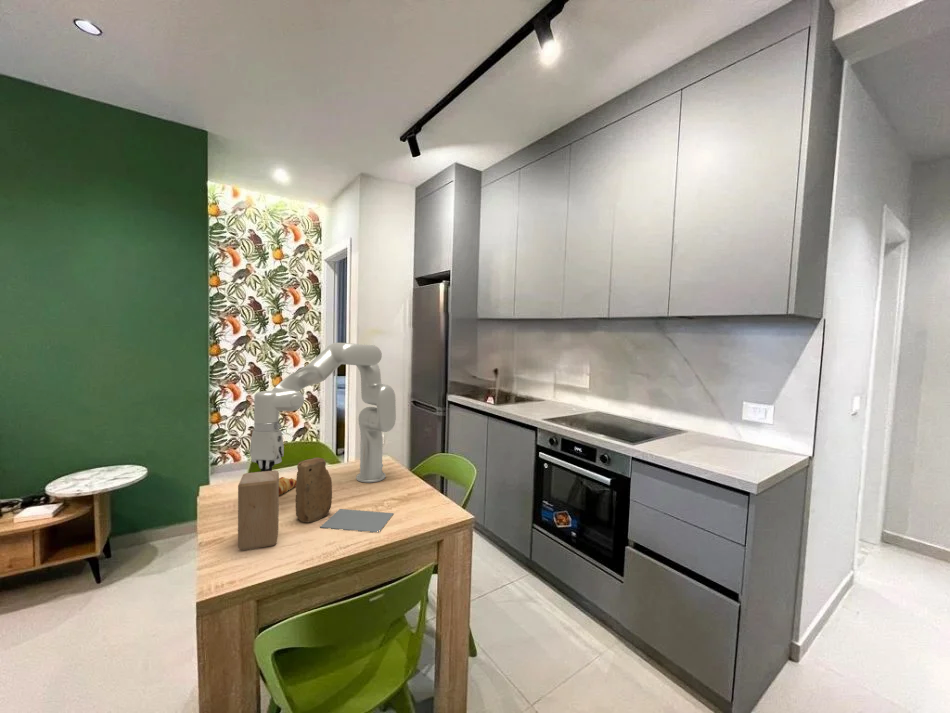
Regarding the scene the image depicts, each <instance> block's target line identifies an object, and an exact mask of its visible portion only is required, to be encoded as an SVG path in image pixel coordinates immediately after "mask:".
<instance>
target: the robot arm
mask: <svg viewBox="0 0 950 713" xmlns="http://www.w3.org/2000/svg"><path fill="white" fill-rule="evenodd" d="M382 357H383V356H382V351H381V349H380V347H378V346H377V345H374V344H359V343H350V342H332V343H330V344H329V345H328V346H327V347H326V348H325V349H323V351H321V352H320V353H319V354H318V355H317V356H316V357H315V358H314V359H312V361H310V362H309V363H308V364H307V365H305V366H304V367H301V368H300V369H298V370H296V371H295V372H292V373H290V374H289V375H288V376H286V377H284V378H283V379H282V380H281V381H280V382H279V383H278V384H276V386H275V387H274V388H273V389H272V390H263V391H258V392H256V393H255V394H254V399H253V400H254V402H253V403H254V406H253V407H254V410H253V411H254V412H253V413H254V417H253V418H254V419H253V420H254V422H253V423H254V424H253V431H252V434H251V439H250V444H249V445H250V446H249V454H250V461H251V462H252V463H256V465H257V466H258V468H259V469H260V472H263V471H273V467H274V466H275V465H277V464H280V463H282V461H283V460H282V458H283V457H284V453H285V451H284V450H285V446H284V438H283V434H282V430H281V429H282V424H281V423H280V419H279V418H280V417H279V416H280V412H282V411H283V412H286V411H287V412H291V411H292V412H294V411H296V410H299V409H300V408H302V407H303V406H304V402H305V396H304V395H303V393H301V392H300V391H302V390H303V389H304V388H307V387H310V386H312V385H316V384H320V383H322V382H324V381H325V380H327V379H328V378H329V377H330V376H331V375H332V374H333V373H334V372H335V371H336V370H337V369H338V368H339V367H340V366H341V365H349V366H356V367H357V369H358V370H359V371H358V372H359V373H360V374H359V375H360V391H361V392H360V393H361V394H360V395H361V400H362V402H363V403H365V404H367V405H371V406H366V407H364V408H362V410H361V411H360V412H359V415H358V419H357V420H358V425H359V433H360V434H359V436H360V445H359V446H360V451H359V455H360V456H359V460H360V461H359V473H358V474H357V475H356V478H355V479H356V480H357V481H358V482H360V483H366V484H367V483H368V484H371V483H377V482H381V481H383V480H385V479H386V473H385V472H384V471H383V467H384V463H383V445H384V444H383V443H384V439H383V432H384V433H386V432H390V431H392V430H393V428H394V427H395V424H396V418H397V413H396V412H397V411H396V410H397V408H396V407H397V406H396V405H397V404H396V403H397V402H396V400H397V399H396V394H395V390H394V388H392V386H390V385H388V384H384V383H382V379H381V378H382V377H381V368H380V365H379V363H380V362H381V360H382ZM375 406H376V407H375Z"/></svg>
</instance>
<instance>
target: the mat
mask: <svg viewBox="0 0 950 713" xmlns="http://www.w3.org/2000/svg"><path fill="white" fill-rule="evenodd" d="M393 515H394V513H393V512H382V511H370V510H357V509H346V508H339V509H337V511H335V513H334V514H333V515H332V516H330V517H329V518H328V519H327V520H326V521H325V522H323V524H321V525H320V526H319V528H320V529H328V528H331V530H339V529H343V530H342V531H350V530H358V531H357V532H362V531H370V532H369V533H373V532H377V531H378V532H379V530H380V532H381V531H382V530H383V529H382V527H383V528H385V526H386V525H387V523H388V522H389V521H388V520H390V519H391V518H392V517H391V516H393ZM390 517H391V518H390ZM387 521H388V522H387ZM385 524H386V525H385ZM384 525H385V526H384ZM381 529H382V530H381Z"/></svg>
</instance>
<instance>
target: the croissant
mask: <svg viewBox="0 0 950 713" xmlns="http://www.w3.org/2000/svg"><path fill="white" fill-rule="evenodd" d="M293 488H296V479H294V478H293V477H291V478H286V477H284V476H281V477H279V496H281V495H280V494H282V495H283V493H284V494H286V493H287V492H288V490H289V491H291V490H292V489H293ZM290 489H291V490H290Z"/></svg>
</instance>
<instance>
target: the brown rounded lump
mask: <svg viewBox="0 0 950 713" xmlns="http://www.w3.org/2000/svg"><path fill="white" fill-rule="evenodd" d="M326 464H327V461H326V460H325V459H324V458H321V457H313V458H309V459H306V460H300V461H299V462H298V463H297V465H296V468H297V471H296V479H295V480H296V486H295V492H296V494H295V501H294V502H295V515H296V517H297V519H298V520H299V521H300V522H302V523H312V522H315V521H319V520H320V519H322V518H324V517H326V516H327V515H328V514H329V512H330V510H331V507H332V502H333V501H332V500H333V484H332V482H333V481H332V477H331V475H330V473H329V470H328V469H327V468H326Z"/></svg>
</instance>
